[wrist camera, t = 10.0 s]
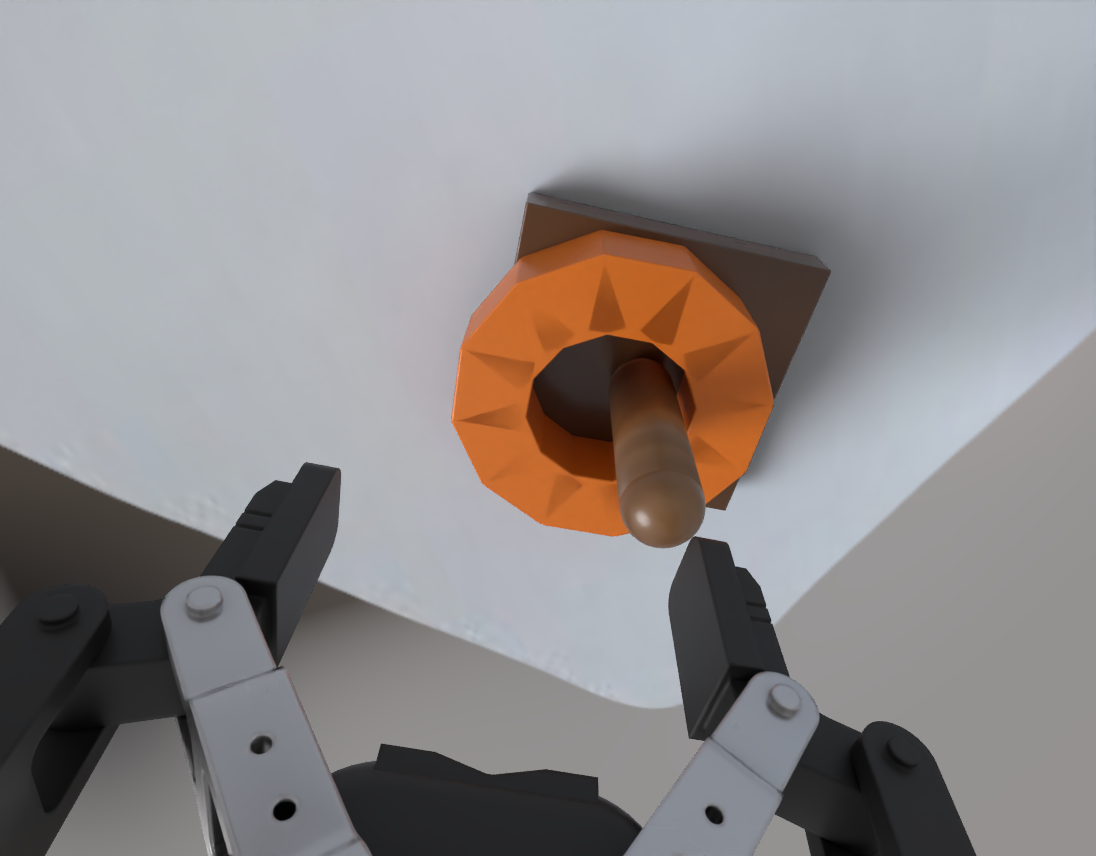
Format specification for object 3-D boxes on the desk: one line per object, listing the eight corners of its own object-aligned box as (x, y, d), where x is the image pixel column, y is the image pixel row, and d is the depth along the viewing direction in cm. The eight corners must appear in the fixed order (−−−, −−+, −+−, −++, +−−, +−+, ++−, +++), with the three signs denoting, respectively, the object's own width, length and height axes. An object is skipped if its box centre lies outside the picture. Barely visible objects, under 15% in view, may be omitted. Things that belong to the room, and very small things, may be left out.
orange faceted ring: (485, 206, 21) (475, 227, 19) (795, 267, 22) (820, 295, 19) (450, 467, 26) (439, 508, 24) (701, 509, 27) (713, 554, 24)
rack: (529, 191, 22) (500, 299, 13) (817, 257, 23) (964, 397, 14) (481, 442, 27) (439, 636, 19) (718, 488, 28) (782, 695, 19)
